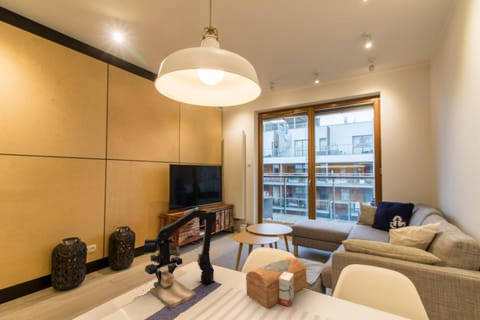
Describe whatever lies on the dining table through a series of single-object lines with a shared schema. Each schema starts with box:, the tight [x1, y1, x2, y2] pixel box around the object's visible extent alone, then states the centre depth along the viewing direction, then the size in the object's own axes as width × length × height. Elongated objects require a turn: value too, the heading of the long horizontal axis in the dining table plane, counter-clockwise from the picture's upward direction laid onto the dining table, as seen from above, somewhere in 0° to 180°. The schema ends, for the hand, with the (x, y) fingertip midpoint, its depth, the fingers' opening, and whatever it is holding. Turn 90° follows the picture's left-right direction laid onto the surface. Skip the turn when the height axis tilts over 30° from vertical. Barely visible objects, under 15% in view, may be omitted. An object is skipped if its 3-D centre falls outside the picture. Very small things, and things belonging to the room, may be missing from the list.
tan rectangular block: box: [158, 270, 175, 289], centre depth 122 cm, size 5×7×5 cm
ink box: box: [278, 272, 295, 307], centre depth 111 cm, size 9×5×12 cm, turn 151°
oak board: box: [150, 279, 197, 309], centre depth 117 cm, size 14×20×2 cm
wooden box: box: [245, 257, 308, 309], centre depth 120 cm, size 30×16×14 cm, turn 128°
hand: (164, 281), depth 123 cm, fingers closed on tan rectangular block, 5 cm apart
